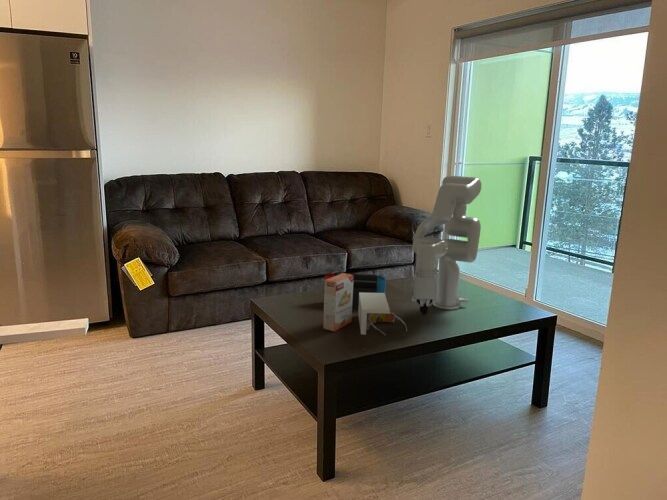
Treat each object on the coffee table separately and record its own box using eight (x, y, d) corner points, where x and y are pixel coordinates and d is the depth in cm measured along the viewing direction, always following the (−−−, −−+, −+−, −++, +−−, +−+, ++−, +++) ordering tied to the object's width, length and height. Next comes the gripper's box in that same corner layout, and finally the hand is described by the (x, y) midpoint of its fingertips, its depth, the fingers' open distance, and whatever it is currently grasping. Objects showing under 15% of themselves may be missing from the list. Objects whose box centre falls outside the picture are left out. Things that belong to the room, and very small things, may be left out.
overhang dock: (383, 315, 230) (384, 293, 228) (388, 335, 209) (389, 309, 207) (358, 315, 230) (359, 292, 228) (360, 334, 209) (361, 309, 207)
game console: (384, 303, 247) (386, 273, 244) (384, 308, 241) (385, 277, 238) (325, 300, 250) (326, 270, 247) (323, 304, 244) (324, 274, 241)
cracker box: (335, 332, 210) (336, 282, 206) (322, 329, 213) (323, 279, 209) (352, 322, 222) (354, 274, 217) (340, 319, 225) (341, 272, 220)
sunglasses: (391, 319, 227) (393, 309, 226) (410, 336, 215) (412, 325, 213) (362, 323, 221) (363, 313, 220) (380, 341, 209) (382, 330, 207)
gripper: (441, 269, 219) (439, 310, 224) (405, 269, 219) (404, 310, 224) (445, 275, 211) (443, 317, 216) (408, 275, 211) (407, 317, 216)
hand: (423, 314), depth 220 cm, fingers closed
